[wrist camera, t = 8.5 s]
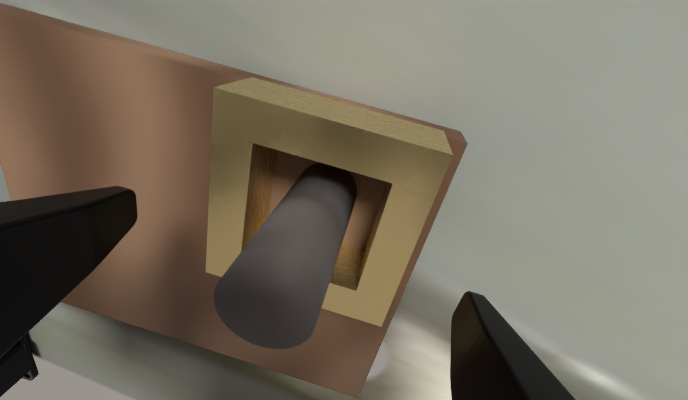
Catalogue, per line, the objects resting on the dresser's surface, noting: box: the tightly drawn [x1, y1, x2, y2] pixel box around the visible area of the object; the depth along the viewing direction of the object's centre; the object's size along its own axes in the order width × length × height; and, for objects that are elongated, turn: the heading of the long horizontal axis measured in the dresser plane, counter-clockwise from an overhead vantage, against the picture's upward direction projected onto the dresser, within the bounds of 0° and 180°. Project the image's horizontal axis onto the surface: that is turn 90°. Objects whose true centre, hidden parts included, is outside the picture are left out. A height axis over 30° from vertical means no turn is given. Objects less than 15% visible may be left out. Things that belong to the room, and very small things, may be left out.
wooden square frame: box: [206, 77, 453, 327], centre depth 11 cm, size 6×6×2 cm
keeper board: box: [0, 3, 467, 398], centre depth 12 cm, size 18×14×8 cm
